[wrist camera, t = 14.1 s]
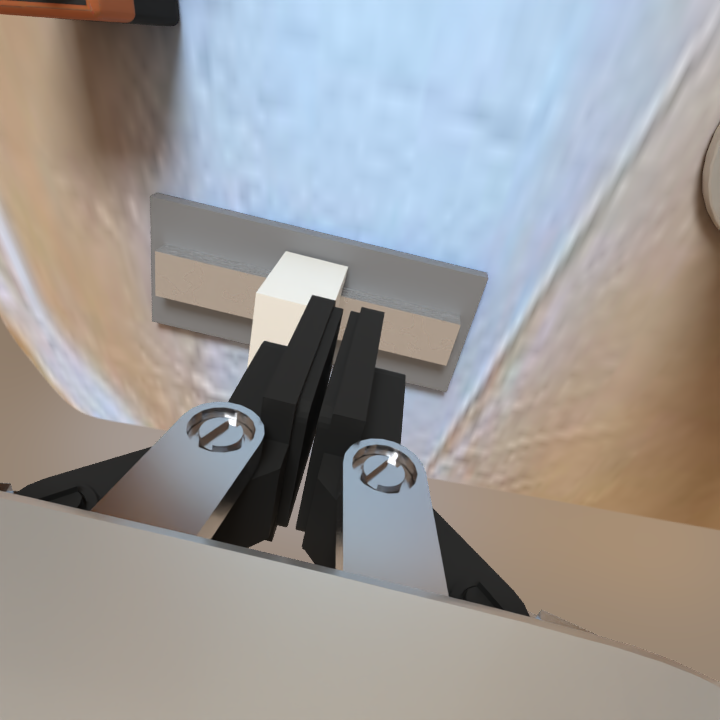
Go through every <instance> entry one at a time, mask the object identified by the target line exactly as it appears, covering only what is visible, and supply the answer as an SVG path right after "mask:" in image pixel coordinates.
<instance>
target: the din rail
mask: <svg viewBox="0 0 720 720" xmlns="http://www.w3.org/2000/svg"><path fill="white" fill-rule="evenodd" d="M271 271H272V270H270V269H265V268H261V267H257V266H253V265H249V264H245V263H241V262H236V261H232V260H228V259H224V258H220V257H216V256H212V255H208V254H203V253H199V252H195V251H191V250H187V249H183V248H179V247H174V246H170V245H166V244H164V245H162V246H161V247H160V248H158V249H157V250H156V251H155V296H159V297H163V298H167V299H171V300H175V301H180V302H184V303H188V304H192V305H196V306H200V307H204V308H209V309H213V310H217V311H221V312H225V313H229V314H233V315H238V316H242V317H246V318H250V319H253V315H254V306H255V298H256V292H257V291H258V289H259V288H260V287H261V285H262V284H263V282H264V281H265V280H266V278H267V277H268V275H269V274H270V273H271ZM361 307H365V308H369V309H373V310H377V311H382V312H385V314H384V320H383V326H382V331H381V337H380V343H379V348H378V349H379V350H383V351H387V352H391V353H395V354H399V355H404V356H408V357H412V358H416V359H420V360H424V361H428V362H433V363H437V364H441V365H445V366H446V365H447V362H448V360H449V357H450V354H451V351H452V348H453V346H454V343H455V340H456V337H457V334H458V332H459V329H460V326H461V322H460V315H456V314H451V313H447V312H443V311H439V310H435V309H431V308H427V307H423V306H418V305H414V304H410V303H406V302H402V301H398V300H394V299H389V298H385V297H381V296H377V295H373V294H369V293H365V292H361V291H356V290H352V289H348V288H344V287H343V288H342V293H341V298H340V302H339V307H338V308H342V309H343V315H342V320H341V325H340V329H339V334H338V339H337V340H341V341H342V338H343V335H344V331H345V328H346V325H347V322H348V318H349V315H350V312H351V311H355V312H359V313H360V311H361Z"/></svg>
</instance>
